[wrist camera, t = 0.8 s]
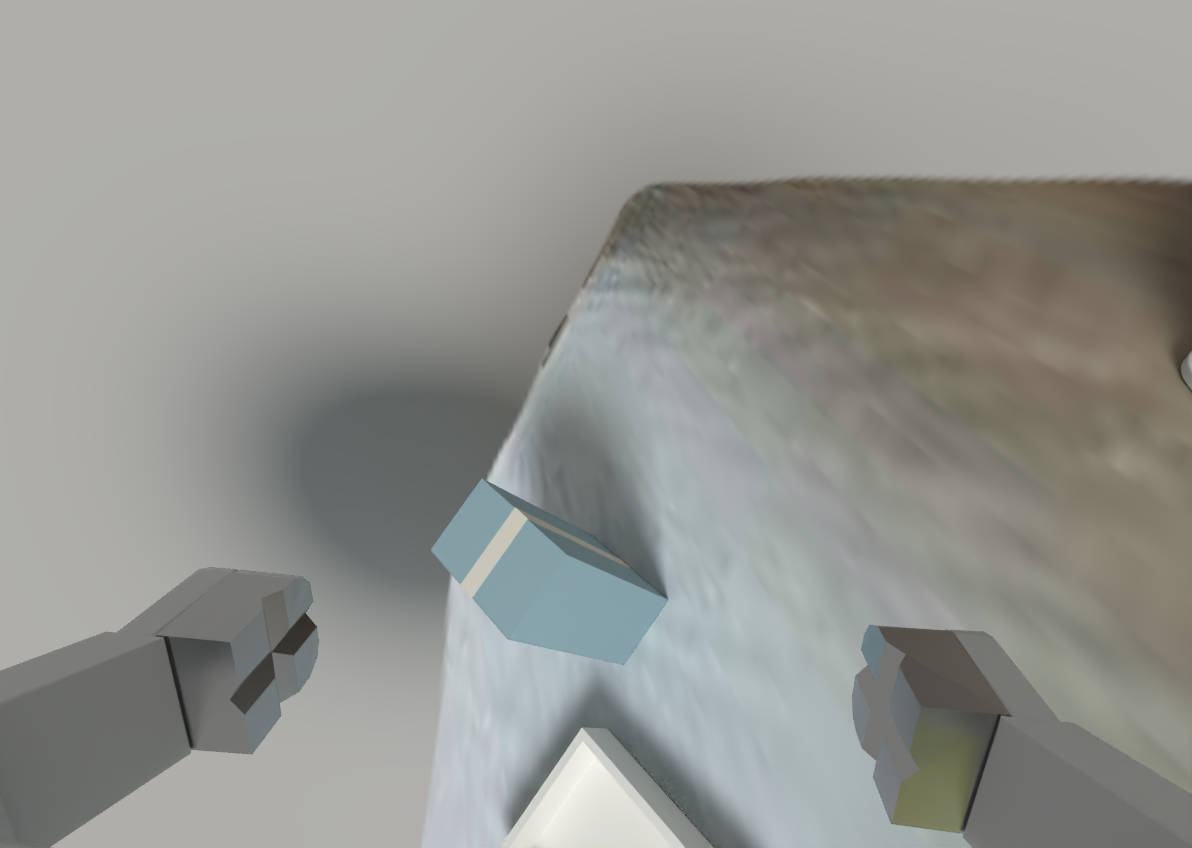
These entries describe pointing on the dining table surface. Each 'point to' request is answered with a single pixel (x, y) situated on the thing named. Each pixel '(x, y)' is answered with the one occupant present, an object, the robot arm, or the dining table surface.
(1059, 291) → the dining table surface
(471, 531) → the gift box
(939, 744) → the robot arm
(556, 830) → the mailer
